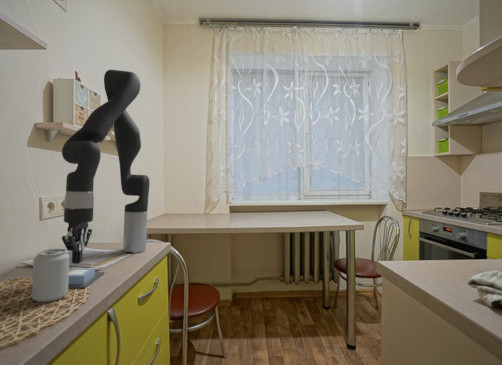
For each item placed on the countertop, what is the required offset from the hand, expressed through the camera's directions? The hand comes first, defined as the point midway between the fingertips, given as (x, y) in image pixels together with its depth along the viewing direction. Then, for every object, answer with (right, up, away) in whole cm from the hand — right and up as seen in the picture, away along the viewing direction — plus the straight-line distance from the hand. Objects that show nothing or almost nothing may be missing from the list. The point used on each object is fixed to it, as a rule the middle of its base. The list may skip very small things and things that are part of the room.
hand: (76, 262), depth 81 cm
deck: (0, -3, +1) cm, 3 cm away
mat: (-1, -5, -1) cm, 5 cm away
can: (+2, -5, -13) cm, 14 cm away
